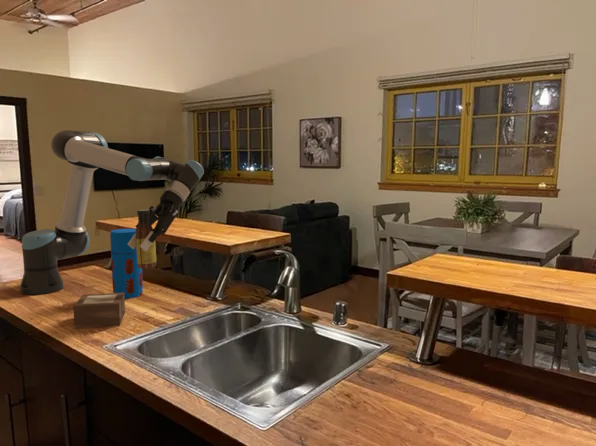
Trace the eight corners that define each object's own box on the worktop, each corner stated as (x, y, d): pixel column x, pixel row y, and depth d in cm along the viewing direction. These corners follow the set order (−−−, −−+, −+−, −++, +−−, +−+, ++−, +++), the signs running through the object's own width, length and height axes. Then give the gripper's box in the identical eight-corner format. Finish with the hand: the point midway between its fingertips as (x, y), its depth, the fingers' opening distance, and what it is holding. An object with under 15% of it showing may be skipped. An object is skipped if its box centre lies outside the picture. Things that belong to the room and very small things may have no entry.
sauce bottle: (160, 266, 158) (158, 209, 155) (149, 270, 152) (147, 211, 149) (144, 264, 160) (142, 208, 157) (132, 268, 154) (130, 210, 151)
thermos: (147, 291, 180) (145, 228, 177) (135, 299, 169) (132, 233, 166) (121, 290, 181) (118, 228, 178) (107, 298, 170) (104, 232, 167)
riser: (83, 315, 151) (82, 294, 150) (125, 312, 154) (124, 292, 153) (74, 328, 139) (73, 306, 138) (119, 325, 142) (118, 303, 141)
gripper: (198, 204, 160) (161, 258, 149) (163, 201, 171) (127, 251, 160) (186, 190, 155) (147, 244, 144) (151, 188, 166) (112, 238, 155)
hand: (136, 247), depth 152 cm, fingers closed on sauce bottle, 6 cm apart
